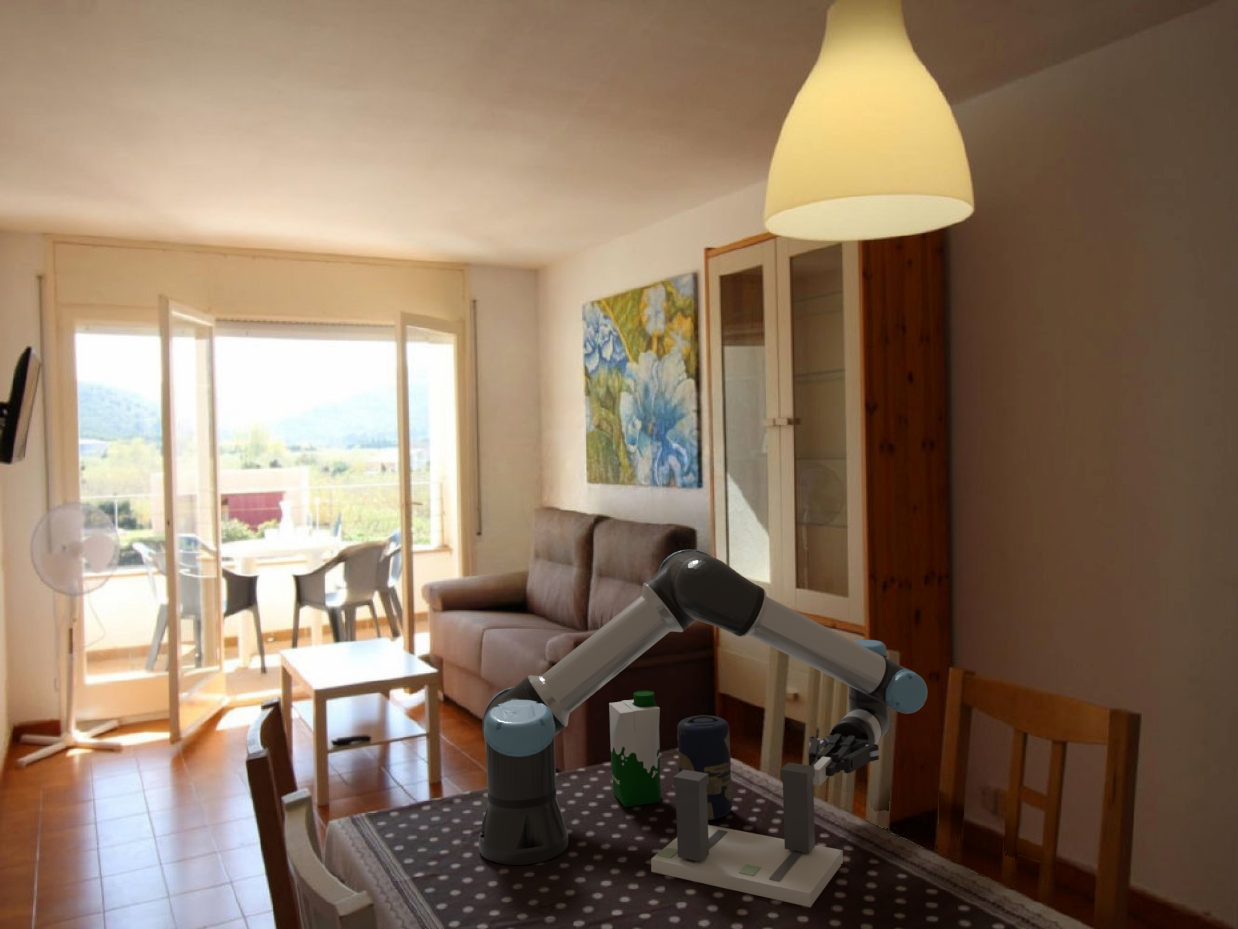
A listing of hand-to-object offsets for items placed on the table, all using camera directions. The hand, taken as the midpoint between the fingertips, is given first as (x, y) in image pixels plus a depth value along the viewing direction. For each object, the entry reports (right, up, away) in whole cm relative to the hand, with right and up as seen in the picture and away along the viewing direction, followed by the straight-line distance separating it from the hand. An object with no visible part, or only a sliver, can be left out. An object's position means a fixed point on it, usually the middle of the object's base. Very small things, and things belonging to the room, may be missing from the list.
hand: (815, 777), depth 156 cm
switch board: (-12, -12, -6) cm, 18 cm away
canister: (-17, -12, +16) cm, 26 cm away
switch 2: (-4, -9, -6) cm, 11 cm away
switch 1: (-21, -10, -7) cm, 24 cm away
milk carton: (-29, -12, +24) cm, 40 cm away
